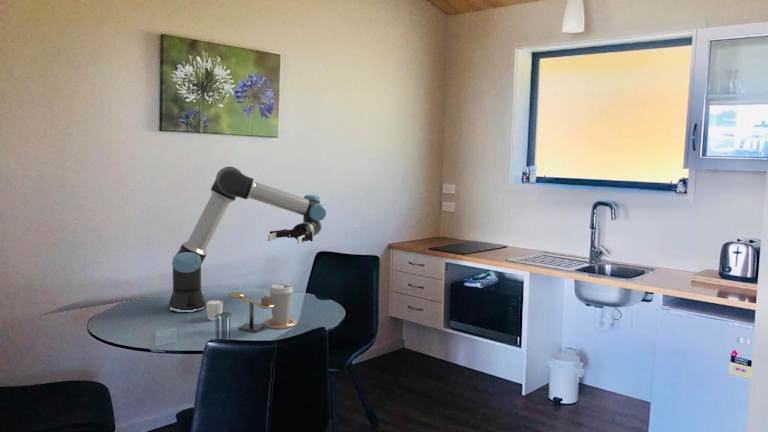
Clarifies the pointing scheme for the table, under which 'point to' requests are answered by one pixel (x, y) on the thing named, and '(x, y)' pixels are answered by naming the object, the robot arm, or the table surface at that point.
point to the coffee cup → (281, 302)
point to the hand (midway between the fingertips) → (283, 239)
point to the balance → (265, 304)
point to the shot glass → (214, 308)
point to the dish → (272, 325)
